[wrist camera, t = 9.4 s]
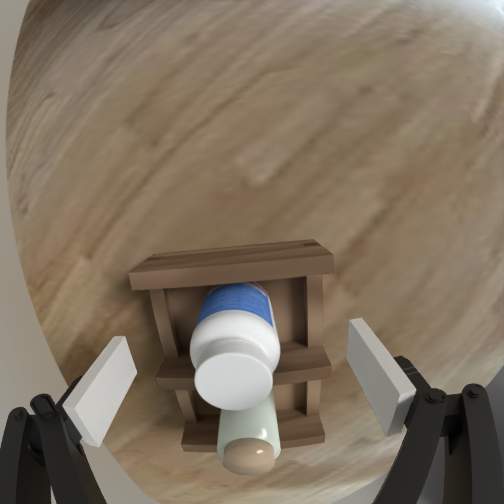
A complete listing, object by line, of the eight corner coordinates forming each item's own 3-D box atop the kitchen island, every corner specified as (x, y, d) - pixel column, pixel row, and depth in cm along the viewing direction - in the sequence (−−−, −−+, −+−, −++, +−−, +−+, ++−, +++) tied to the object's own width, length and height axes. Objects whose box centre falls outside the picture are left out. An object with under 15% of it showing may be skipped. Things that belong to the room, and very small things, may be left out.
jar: (220, 370, 24) (210, 446, 15) (271, 366, 24) (281, 443, 15) (226, 405, 25) (221, 478, 16) (273, 402, 25) (282, 475, 16)
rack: (153, 254, 23) (128, 273, 17) (313, 239, 23) (333, 254, 17) (191, 414, 26) (184, 451, 21) (313, 405, 26) (324, 442, 21)
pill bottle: (192, 289, 22) (159, 356, 13) (255, 264, 22) (262, 321, 12) (221, 344, 23) (209, 427, 14) (280, 323, 23) (300, 401, 13)
